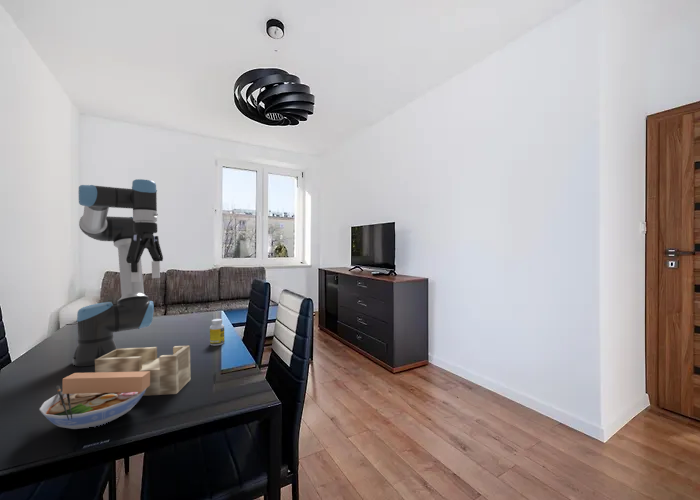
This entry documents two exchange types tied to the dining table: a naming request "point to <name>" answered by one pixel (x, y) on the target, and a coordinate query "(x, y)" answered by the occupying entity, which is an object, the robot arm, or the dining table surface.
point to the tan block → (106, 382)
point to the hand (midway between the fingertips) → (146, 279)
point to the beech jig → (151, 367)
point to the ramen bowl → (88, 408)
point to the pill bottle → (217, 332)
